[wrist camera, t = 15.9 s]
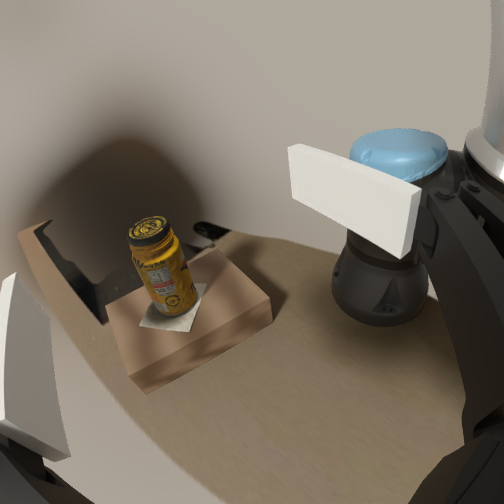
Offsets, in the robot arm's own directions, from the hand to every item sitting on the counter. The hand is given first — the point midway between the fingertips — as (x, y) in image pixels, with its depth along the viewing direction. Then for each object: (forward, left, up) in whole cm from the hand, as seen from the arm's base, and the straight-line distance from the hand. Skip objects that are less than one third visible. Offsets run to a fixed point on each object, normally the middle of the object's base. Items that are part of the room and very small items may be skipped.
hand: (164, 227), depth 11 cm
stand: (-1, -19, -26) cm, 32 cm away
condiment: (0, -19, -22) cm, 29 cm away
